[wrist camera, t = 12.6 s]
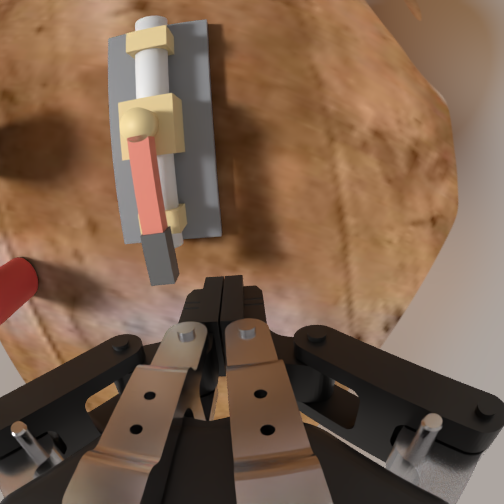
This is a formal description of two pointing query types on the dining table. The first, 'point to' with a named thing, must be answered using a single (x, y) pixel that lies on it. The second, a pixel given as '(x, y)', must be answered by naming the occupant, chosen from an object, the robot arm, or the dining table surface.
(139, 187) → the valve lever
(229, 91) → the dining table surface
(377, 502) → the robot arm
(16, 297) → the beer can
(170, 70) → the valve board
